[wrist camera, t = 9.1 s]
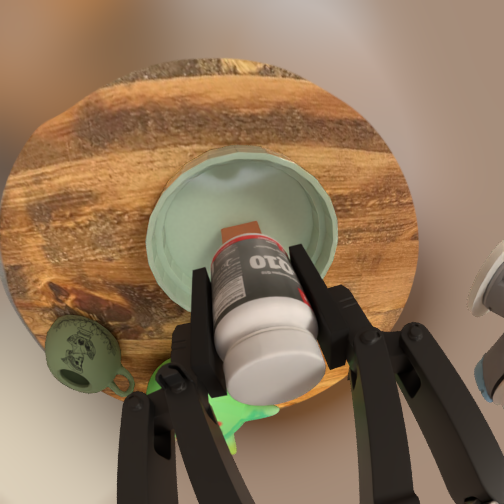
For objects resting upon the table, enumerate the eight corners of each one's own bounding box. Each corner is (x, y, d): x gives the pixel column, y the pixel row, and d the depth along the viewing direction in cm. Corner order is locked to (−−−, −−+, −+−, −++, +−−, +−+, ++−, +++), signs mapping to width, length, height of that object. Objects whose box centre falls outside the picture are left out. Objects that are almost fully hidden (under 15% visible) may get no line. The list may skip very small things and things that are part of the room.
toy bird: (162, 320, 36) (153, 413, 24) (268, 343, 42) (288, 425, 29) (143, 381, 44) (137, 452, 31) (226, 397, 49) (235, 462, 37)
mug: (48, 338, 36) (33, 377, 28) (61, 294, 32) (39, 337, 24) (125, 377, 43) (119, 416, 35) (153, 342, 38) (148, 389, 31)
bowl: (311, 129, 26) (331, 136, 22) (324, 275, 36) (338, 299, 32) (131, 172, 26) (117, 186, 21) (185, 308, 36) (184, 336, 32)
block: (256, 220, 30) (263, 237, 26) (262, 251, 32) (269, 270, 29) (220, 228, 30) (222, 247, 26) (229, 259, 32) (232, 279, 28)
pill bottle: (301, 255, 17) (358, 362, 10) (255, 305, 19) (282, 415, 12) (241, 215, 15) (274, 329, 8) (195, 274, 17) (195, 397, 10)
